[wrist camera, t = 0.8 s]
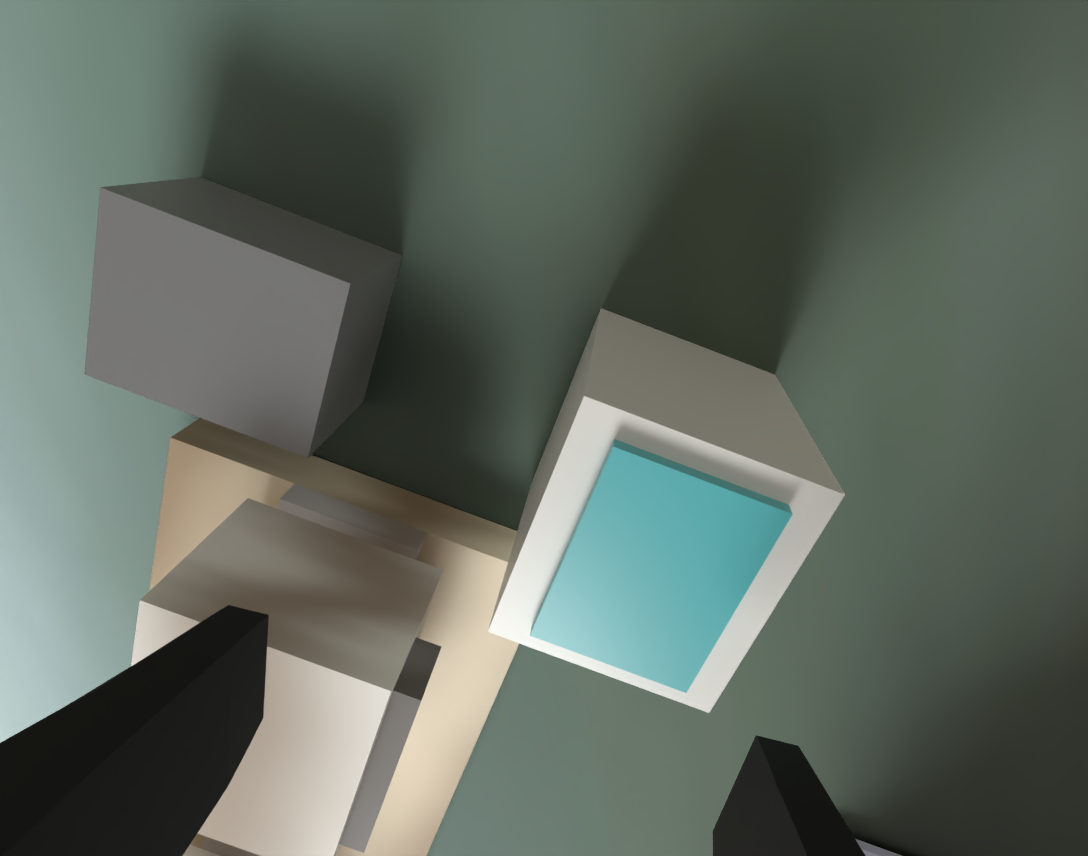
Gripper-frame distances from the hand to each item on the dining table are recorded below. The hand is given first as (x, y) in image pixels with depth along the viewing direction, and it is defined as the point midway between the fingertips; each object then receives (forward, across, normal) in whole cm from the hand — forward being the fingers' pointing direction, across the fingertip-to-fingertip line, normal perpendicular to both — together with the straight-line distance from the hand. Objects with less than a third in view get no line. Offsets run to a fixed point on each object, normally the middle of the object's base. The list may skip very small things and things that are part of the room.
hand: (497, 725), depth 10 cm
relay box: (+9, +7, -3) cm, 12 cm away
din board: (+9, +6, +12) cm, 16 cm away
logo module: (+9, -2, -2) cm, 9 cm away
